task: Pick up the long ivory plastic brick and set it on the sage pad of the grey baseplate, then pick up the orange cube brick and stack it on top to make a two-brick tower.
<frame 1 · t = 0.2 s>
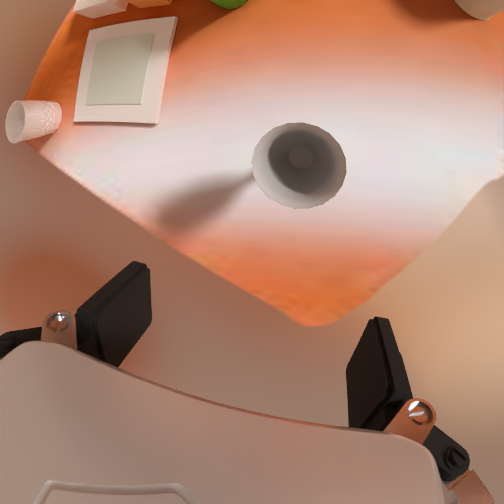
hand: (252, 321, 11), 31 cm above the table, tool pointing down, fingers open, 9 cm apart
baseplate: (120, 70, 36), on the table
chalice: (302, 152, 37), on the table
bottom brick: (112, 1, 31), on the table
white cup: (53, 117, 41), on the table
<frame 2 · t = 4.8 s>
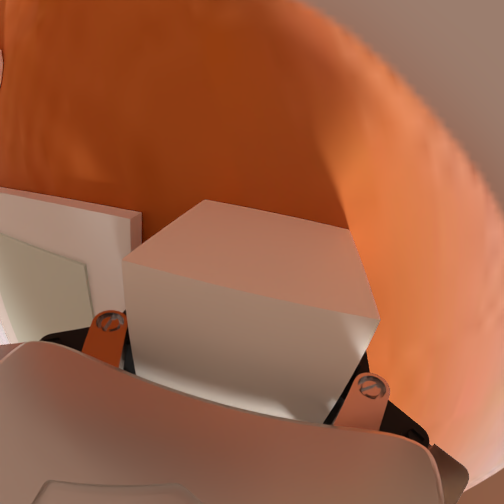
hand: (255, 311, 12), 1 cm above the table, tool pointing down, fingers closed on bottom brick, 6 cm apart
baseplate: (49, 310, 17), on the table
bottom brick: (260, 297, 13), on the table, touching gripper
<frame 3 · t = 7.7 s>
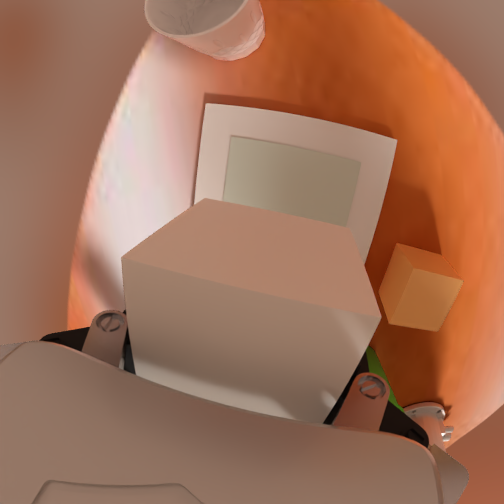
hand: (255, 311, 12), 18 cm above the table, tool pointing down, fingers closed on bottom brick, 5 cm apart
baseplate: (285, 207, 28), on the table
bottom brick: (260, 296, 13), point 16 cm above the table, touching gripper
white cup: (232, 32, 22), on the table
cup: (356, 356, 34), on the table
top brick: (410, 273, 28), on the table
when the fingers open (4 cm above the table, at t = 10.8 s): bottom brick drops 1 cm, resting on baseplate.
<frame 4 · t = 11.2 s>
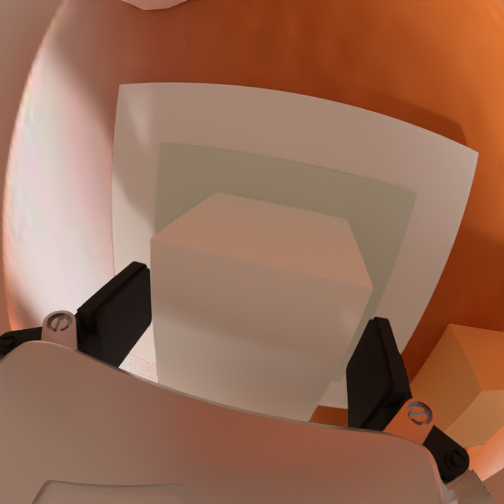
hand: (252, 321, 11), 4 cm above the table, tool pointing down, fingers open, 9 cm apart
baseplate: (267, 271, 15), on the table
bottom brick: (265, 282, 14), point 1 cm above the table, touching baseplate
top brick: (458, 360, 16), on the table
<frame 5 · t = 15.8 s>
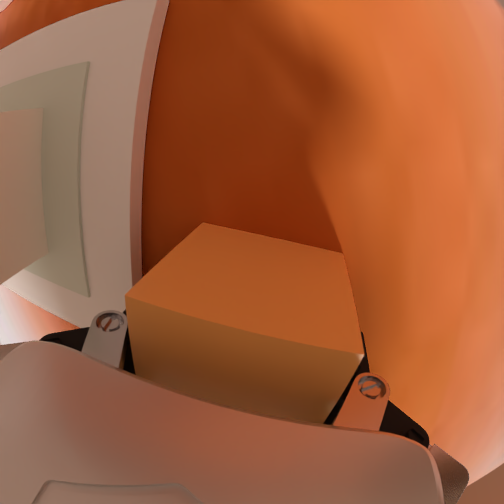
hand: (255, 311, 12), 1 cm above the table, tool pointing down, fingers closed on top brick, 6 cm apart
baseplate: (28, 176, 13), on the table
bottom brick: (14, 180, 12), point 1 cm above the table, touching baseplate
top brick: (259, 297, 13), on the table, touching gripper
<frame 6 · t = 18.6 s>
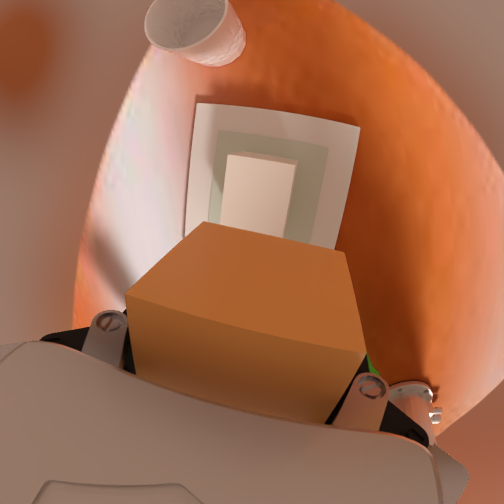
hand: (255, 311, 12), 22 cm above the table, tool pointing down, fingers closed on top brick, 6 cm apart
baseplate: (265, 189, 32), on the table
bottom brick: (264, 190, 31), point 1 cm above the table, touching baseplate
white cup: (218, 42, 27), on the table
top brick: (260, 297, 13), point 21 cm above the table, touching gripper
when the fingers open (10 cm above the table, at t = 21.6 s): top brick drops 1 cm, resting on bottom brick.
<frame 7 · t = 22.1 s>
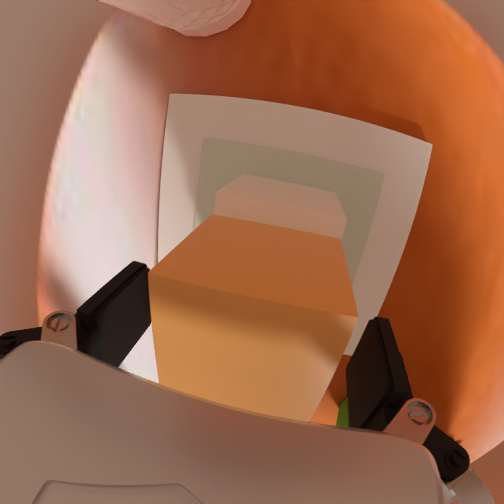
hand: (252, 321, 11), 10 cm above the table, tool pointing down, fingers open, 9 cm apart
baseplate: (279, 233, 21), on the table
bottom brick: (278, 239, 20), point 1 cm above the table, touching baseplate, top brick
white cup: (207, 2, 15), on the table
top brick: (265, 282, 14), point 7 cm above the table, touching bottom brick
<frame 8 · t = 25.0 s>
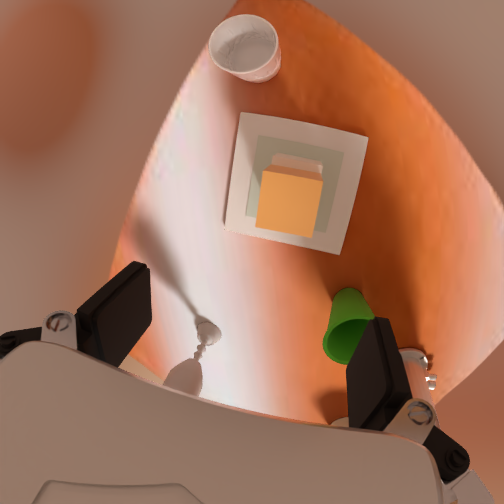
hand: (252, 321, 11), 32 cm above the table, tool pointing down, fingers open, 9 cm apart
baseplate: (293, 183, 40), on the table
chalice: (209, 331, 55), on the table
bottom brick: (294, 184, 39), point 1 cm above the table, touching baseplate, top brick
white cup: (257, 62, 34), on the table
cup: (347, 299, 46), on the table
top brick: (291, 192, 34), point 7 cm above the table, touching bottom brick
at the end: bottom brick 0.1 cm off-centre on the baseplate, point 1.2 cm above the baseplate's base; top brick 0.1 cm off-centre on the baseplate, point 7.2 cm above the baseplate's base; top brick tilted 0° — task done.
